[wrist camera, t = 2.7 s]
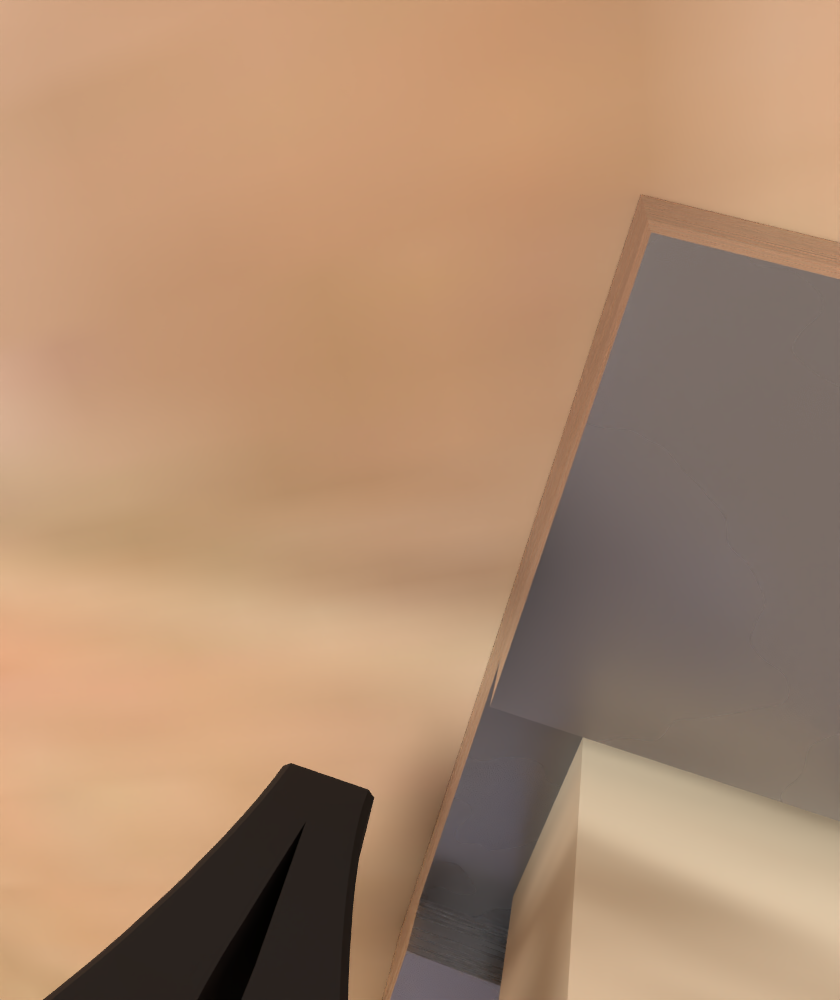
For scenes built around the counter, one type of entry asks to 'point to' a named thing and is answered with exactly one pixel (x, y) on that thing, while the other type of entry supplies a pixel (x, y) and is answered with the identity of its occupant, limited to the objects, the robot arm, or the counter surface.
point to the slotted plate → (660, 572)
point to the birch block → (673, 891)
